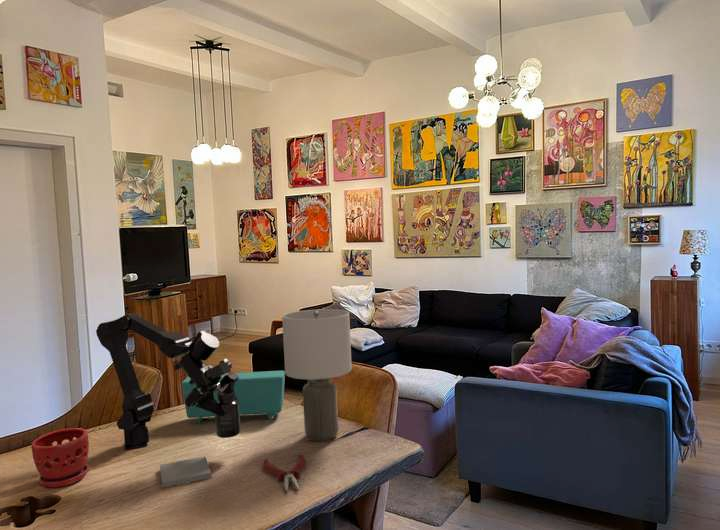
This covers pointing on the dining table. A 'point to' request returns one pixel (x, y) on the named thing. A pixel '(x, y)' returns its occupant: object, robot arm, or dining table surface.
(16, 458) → the dining table surface
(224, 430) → the supplement bottle
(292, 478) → the pliers
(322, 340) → the lamp
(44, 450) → the plant pot
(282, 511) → the dining table surface
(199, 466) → the grey flat square slab
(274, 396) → the teal foam block
